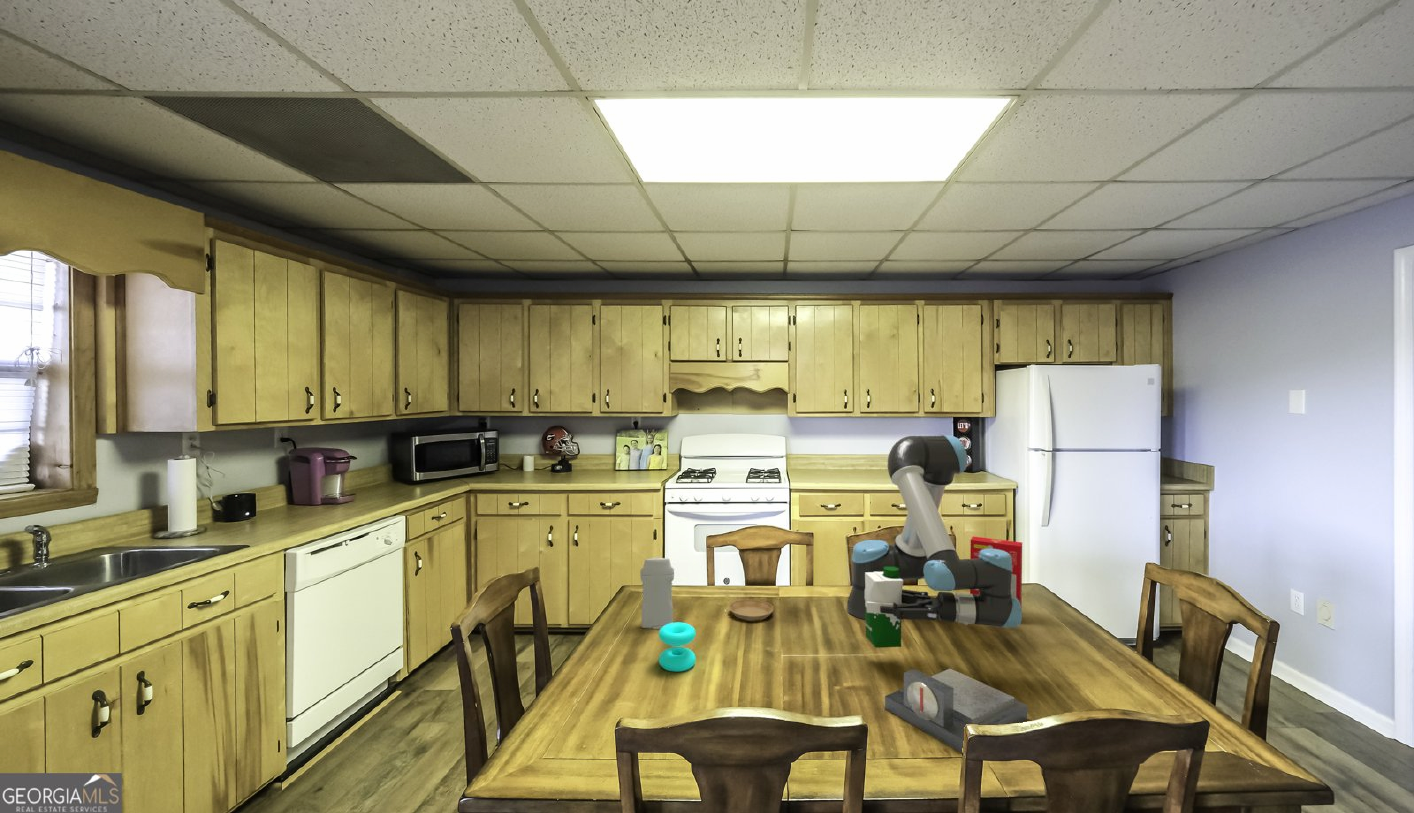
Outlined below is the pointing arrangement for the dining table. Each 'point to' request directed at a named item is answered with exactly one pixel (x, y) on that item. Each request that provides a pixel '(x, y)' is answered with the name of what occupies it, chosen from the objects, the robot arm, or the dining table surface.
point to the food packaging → (1016, 557)
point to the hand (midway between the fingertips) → (865, 600)
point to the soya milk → (884, 590)
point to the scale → (951, 705)
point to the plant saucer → (751, 609)
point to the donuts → (677, 656)
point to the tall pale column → (657, 593)
